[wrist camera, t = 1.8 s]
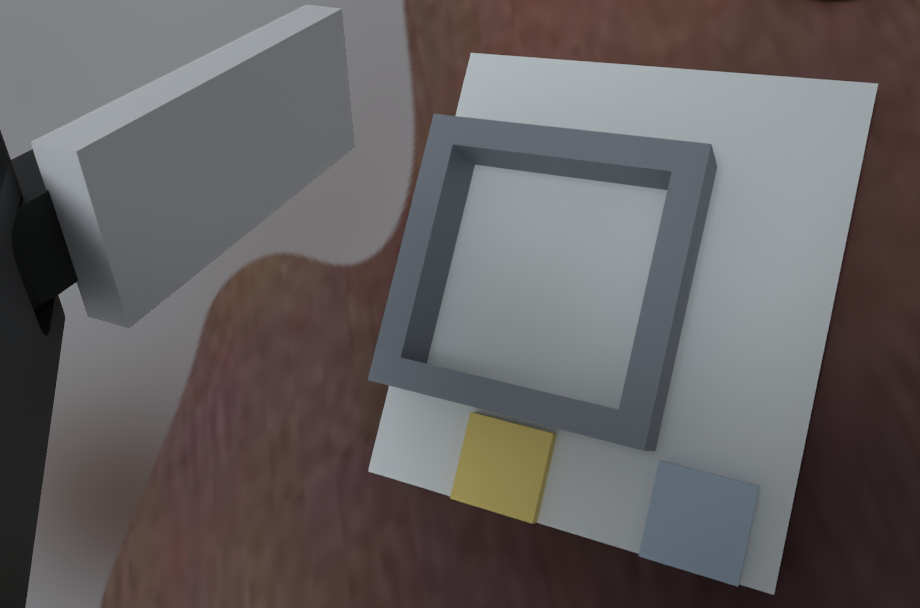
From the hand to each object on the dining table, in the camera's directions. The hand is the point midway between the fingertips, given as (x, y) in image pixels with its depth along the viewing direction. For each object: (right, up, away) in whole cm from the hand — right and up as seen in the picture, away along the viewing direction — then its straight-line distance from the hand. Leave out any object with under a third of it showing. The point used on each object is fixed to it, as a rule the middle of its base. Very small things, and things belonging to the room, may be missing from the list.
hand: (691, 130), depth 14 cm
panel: (+1, -3, +15) cm, 15 cm away
